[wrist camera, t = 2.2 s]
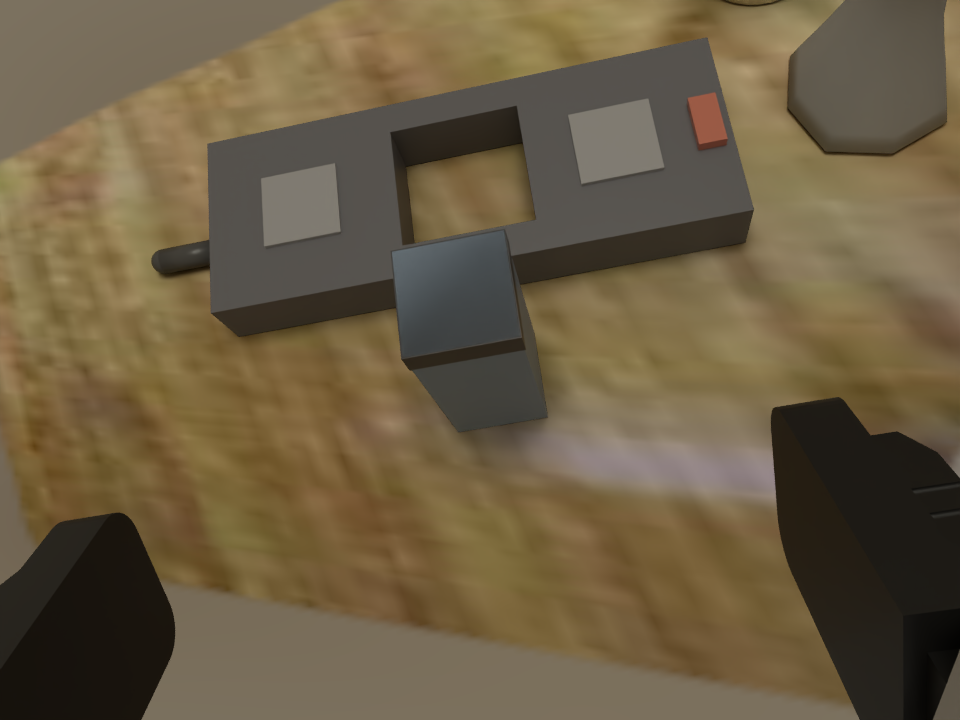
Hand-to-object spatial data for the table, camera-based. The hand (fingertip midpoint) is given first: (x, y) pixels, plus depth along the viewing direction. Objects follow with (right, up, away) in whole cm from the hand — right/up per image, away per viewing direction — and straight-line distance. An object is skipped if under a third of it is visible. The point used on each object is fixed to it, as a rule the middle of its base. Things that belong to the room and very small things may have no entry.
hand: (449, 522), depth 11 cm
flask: (+18, +14, +30) cm, 38 cm away
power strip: (-2, +9, +32) cm, 33 cm away
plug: (+1, +1, +28) cm, 28 cm away
